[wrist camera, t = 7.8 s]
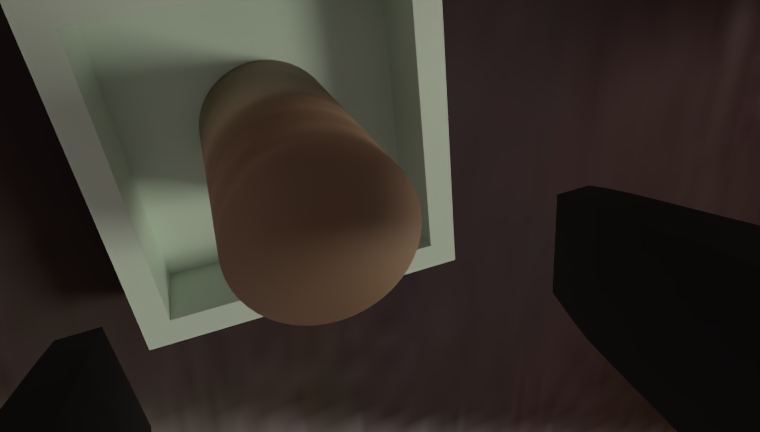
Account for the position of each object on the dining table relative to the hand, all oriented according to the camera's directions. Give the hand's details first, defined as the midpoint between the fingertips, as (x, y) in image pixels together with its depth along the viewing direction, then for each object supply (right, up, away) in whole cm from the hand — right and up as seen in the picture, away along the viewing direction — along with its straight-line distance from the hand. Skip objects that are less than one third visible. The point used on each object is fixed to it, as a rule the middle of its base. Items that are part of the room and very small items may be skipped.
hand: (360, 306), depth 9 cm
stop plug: (-3, +4, +8) cm, 9 cm away
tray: (-3, +4, +8) cm, 10 cm away
